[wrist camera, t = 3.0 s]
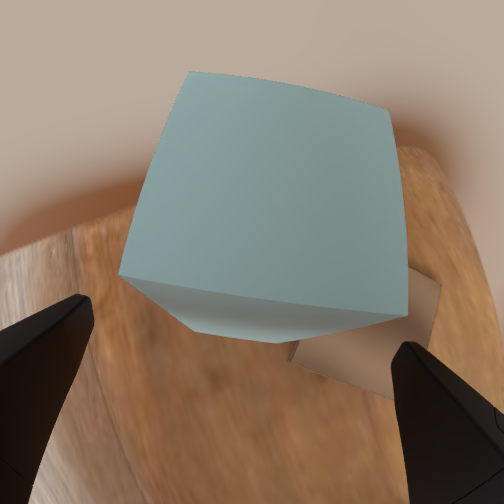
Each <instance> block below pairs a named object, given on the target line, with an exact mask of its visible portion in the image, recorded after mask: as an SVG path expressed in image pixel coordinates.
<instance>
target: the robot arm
mask: <svg viewBox="0 0 504 504" xmlns="http://www.w3.org/2000/svg"><path fill="white" fill-rule="evenodd" d="M93 327H94V315H93V309H92V303H91V299H90V298H89V297H88V296H85V295H81V294H75V295H73V296H70V297H68V298H66V299H64V300H62V301H60V302H58V303H56V304H54V305H52V306H50V307H48V308H46V309H43V310H41V311H39V312H37V313H35V314H33V315H31V316H29V317H27V318H25V319H23V320H21V321H19V322H17V323H15V324H13V325H11V326H9V327H7V328H5V329H3V330H1V331H0V504H28V502H29V498H30V495H31V492H32V488H33V486H32V485H33V484H34V481H35V478H36V475H37V472H38V469H39V466H40V463H41V460H42V457H43V454H44V452H45V449H46V446H47V443H48V441H49V438H50V435H51V433H52V430H53V428H54V425H55V423H56V420H57V418H58V415H59V413H60V410H61V408H62V406H63V403H64V401H65V399H66V396H67V394H68V392H69V389H70V387H71V385H72V383H73V381H74V378H75V376H76V374H77V372H78V369H79V366H80V364H81V361H82V358H83V355H84V352H85V349H86V346H87V344H88V341H89V338H90V335H91V333H92V330H93ZM391 375H392V383H393V392H394V402H395V410H396V416H397V421H398V426H399V432H400V437H401V443H402V449H403V455H404V462H405V469H406V476H407V483H408V492H409V501H410V504H504V414H503V413H501V412H500V411H499V410H498V409H497V408H496V407H493V405H492V404H491V403H490V402H489V401H487V400H486V399H485V398H484V397H483V396H481V395H480V394H479V393H478V392H477V391H476V390H474V389H473V388H472V387H471V386H470V385H468V384H467V383H466V382H465V381H464V380H462V379H461V378H460V377H459V376H458V375H456V374H455V373H454V372H453V371H452V370H450V369H449V368H448V367H447V366H446V365H444V364H443V363H442V362H441V361H439V360H438V359H437V358H436V357H435V356H433V355H432V354H431V353H430V352H428V351H427V350H426V349H425V348H423V347H422V346H421V345H420V344H418V343H417V342H415V341H404V342H403V343H402V344H401V345H400V347H399V349H398V351H397V352H396V354H395V356H394V357H393V359H392V362H391Z"/></svg>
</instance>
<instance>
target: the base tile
mask: <svg viewBox="0 0 504 504" xmlns="http://www.w3.org/2000/svg"><path fill="white" fill-rule="evenodd" d="M441 286H442V285H441V284H439V283H438V282H436V281H434V280H432V279H430V278H428V277H427V276H425V275H423V274H421V273H419V272H417V271H415V270H414V269H412V268H410V267H408V316H405V317H401V318H397V319H393V320H389V321H385V322H381V323H377V324H373V325H368V326H364V327H360V328H355V329H351V330H346V331H341V332H336V333H332V334H327V335H321V336H316V337H311V338H305V339H300V340H297V341H296V343H295V346H294V348H293V350H292V353H291V355H290V357H289V359H288V362H289V363H292V364H294V365H297V366H299V367H302V368H304V369H307V370H309V371H312V372H315V373H317V374H320V375H323V376H325V377H328V378H331V379H333V380H336V381H339V382H341V383H344V384H347V385H350V386H353V387H356V388H358V389H361V390H364V391H367V392H370V393H373V394H376V395H379V396H382V397H385V398H389V399H392V400H394V392H393V383H392V375H391V362H392V359H393V357H394V356H395V354H396V352H397V351H398V349H399V347H400V345H401V344H402V343H403V342H404V341H415V342H417V343H418V344H420V345H421V346H422V347H423V348H425V349H426V350H427V347H428V343H429V339H430V336H431V332H432V328H433V324H434V320H435V315H436V311H437V306H438V302H439V297H440V292H441Z"/></svg>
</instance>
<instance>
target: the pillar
mask: <svg viewBox="0 0 504 504" xmlns="http://www.w3.org/2000/svg"><path fill="white" fill-rule="evenodd" d="M118 275H119V276H121V277H122V278H123V279H124V280H126V281H127V282H128V283H129V284H131V285H132V286H133V287H134V288H136V289H137V290H138V291H140V292H141V293H142V294H144V295H145V296H146V297H147V298H149V299H150V300H151V301H153V302H154V303H155V304H157V305H158V306H160V307H161V308H162V309H164V310H165V311H166V312H168V313H169V314H170V315H172V316H173V317H175V318H176V319H177V320H179V321H180V322H182V323H183V324H185V325H186V326H187V327H189V328H190V329H192V330H193V331H195V332H200V333H206V334H212V335H218V336H225V337H231V338H238V339H245V340H253V341H260V342H268V343H282V342H288V341H294V340H300V339H305V338H311V337H316V336H321V335H327V334H332V333H336V332H341V331H346V330H351V329H355V328H360V327H364V326H368V325H373V324H377V323H381V322H385V321H389V320H393V319H397V318H401V317H405V316H408V255H407V236H406V222H405V211H404V201H403V192H402V184H401V176H400V169H399V163H398V156H397V150H396V145H395V139H394V134H393V129H392V124H391V119H390V114H389V110H387V109H383V108H380V107H377V106H374V105H371V104H368V103H364V102H361V101H358V100H354V99H351V98H347V97H343V96H340V95H336V94H332V93H328V92H324V91H319V90H315V89H311V88H306V87H301V86H296V85H291V84H286V83H281V82H275V81H269V80H263V79H256V78H250V77H242V76H234V75H225V74H215V73H203V72H188V74H187V76H186V78H185V80H184V83H183V85H182V87H181V89H180V91H179V94H178V96H177V98H176V100H175V103H174V105H173V108H172V110H171V112H170V115H169V117H168V120H167V122H166V124H165V127H164V130H163V132H162V135H161V137H160V140H159V142H158V145H157V148H156V150H155V153H154V156H153V159H152V161H151V164H150V167H149V170H148V173H147V176H146V179H145V182H144V185H143V188H142V191H141V194H140V197H139V200H138V203H137V206H136V210H135V213H134V216H133V220H132V223H131V227H130V230H129V234H128V237H127V241H126V245H125V249H124V253H123V256H122V260H121V265H120V269H119V273H118Z"/></svg>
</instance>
